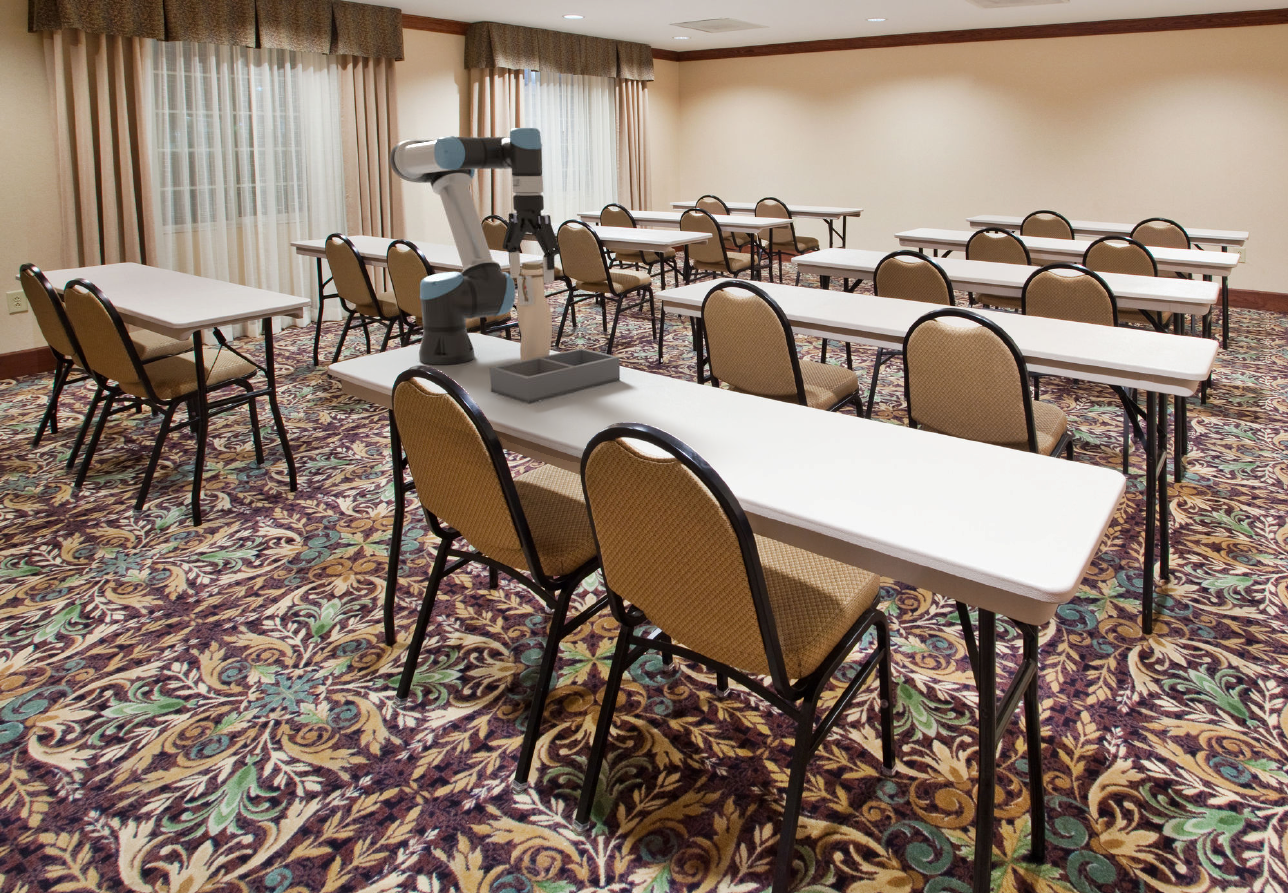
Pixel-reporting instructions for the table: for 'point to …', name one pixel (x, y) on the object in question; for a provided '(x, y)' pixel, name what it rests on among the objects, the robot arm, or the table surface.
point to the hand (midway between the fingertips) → (532, 280)
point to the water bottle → (533, 312)
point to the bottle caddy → (554, 375)
